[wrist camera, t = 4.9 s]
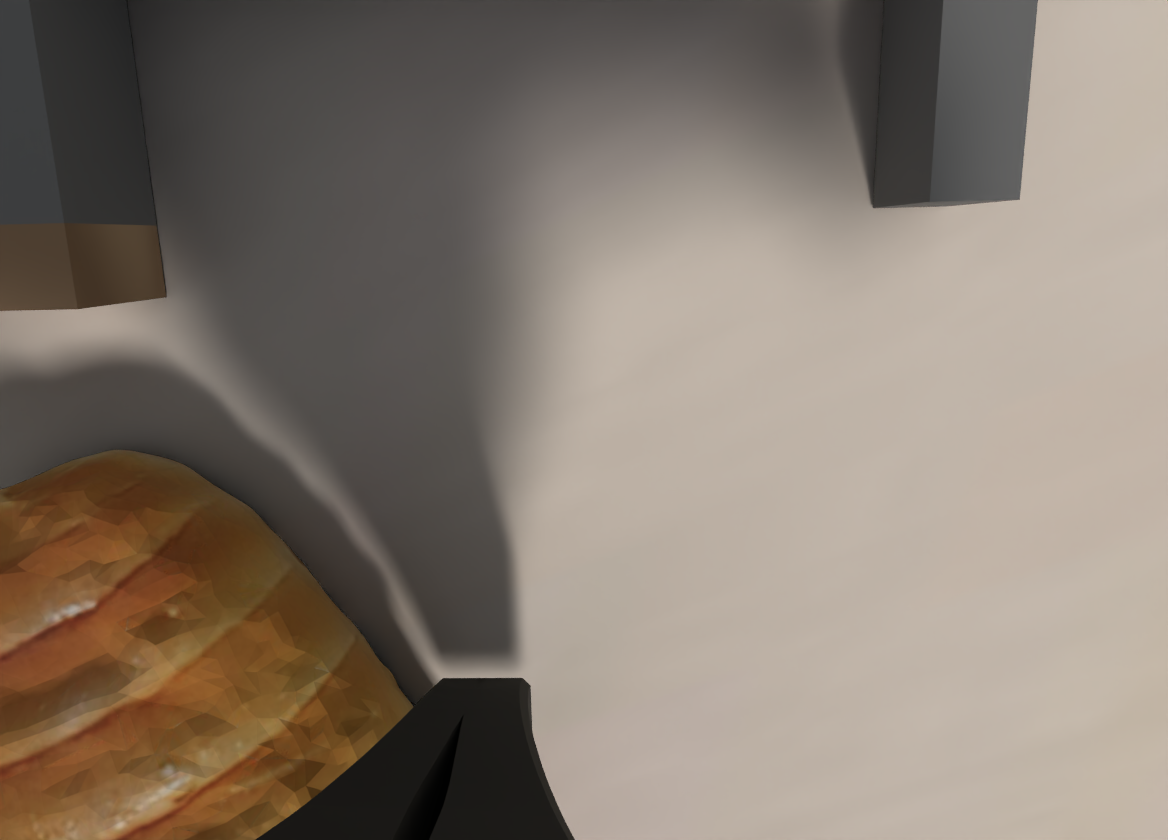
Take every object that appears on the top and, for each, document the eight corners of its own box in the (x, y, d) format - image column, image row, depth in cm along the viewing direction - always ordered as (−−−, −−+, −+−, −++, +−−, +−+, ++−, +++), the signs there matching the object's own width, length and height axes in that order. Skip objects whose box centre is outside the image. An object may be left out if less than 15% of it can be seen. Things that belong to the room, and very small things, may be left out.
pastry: (-98, 526, 13) (-386, 645, 9) (286, 371, 12) (146, 429, 8) (179, 989, 15) (35, 1245, 11) (526, 876, 14) (499, 1108, 10)
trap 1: (946, 206, 11) (1019, 199, 9) (86, 226, 11) (-20, 224, 10) (973, -168, 10) (1062, -263, 8) (32, -131, 10) (-98, -214, 9)
